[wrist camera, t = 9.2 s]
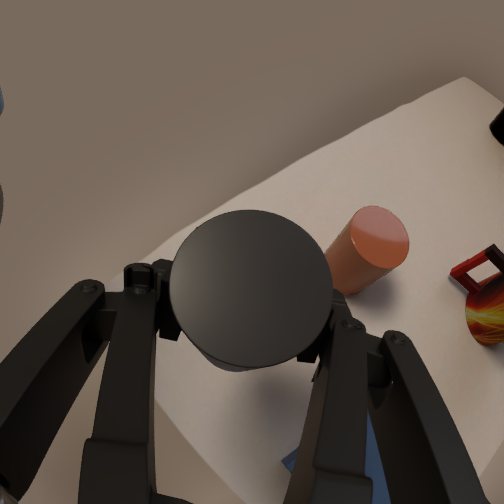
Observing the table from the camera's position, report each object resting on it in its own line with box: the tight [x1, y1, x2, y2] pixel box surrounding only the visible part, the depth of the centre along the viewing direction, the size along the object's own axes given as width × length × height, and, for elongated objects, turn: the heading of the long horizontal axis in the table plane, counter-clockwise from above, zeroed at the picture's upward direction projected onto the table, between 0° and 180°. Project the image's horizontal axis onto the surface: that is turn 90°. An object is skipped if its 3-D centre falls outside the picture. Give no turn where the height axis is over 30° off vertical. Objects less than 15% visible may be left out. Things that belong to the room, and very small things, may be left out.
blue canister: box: [169, 210, 333, 372], centre depth 14 cm, size 5×5×11 cm
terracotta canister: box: [324, 206, 409, 295], centre depth 31 cm, size 6×6×9 cm
